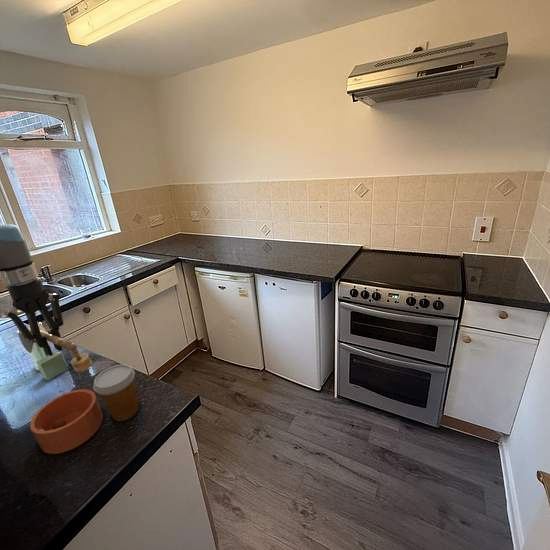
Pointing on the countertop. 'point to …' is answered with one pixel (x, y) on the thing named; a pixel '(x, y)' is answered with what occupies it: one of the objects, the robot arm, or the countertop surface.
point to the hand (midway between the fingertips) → (54, 351)
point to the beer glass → (33, 346)
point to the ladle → (80, 360)
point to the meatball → (59, 424)
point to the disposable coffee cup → (118, 391)
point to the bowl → (67, 421)
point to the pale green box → (52, 365)
